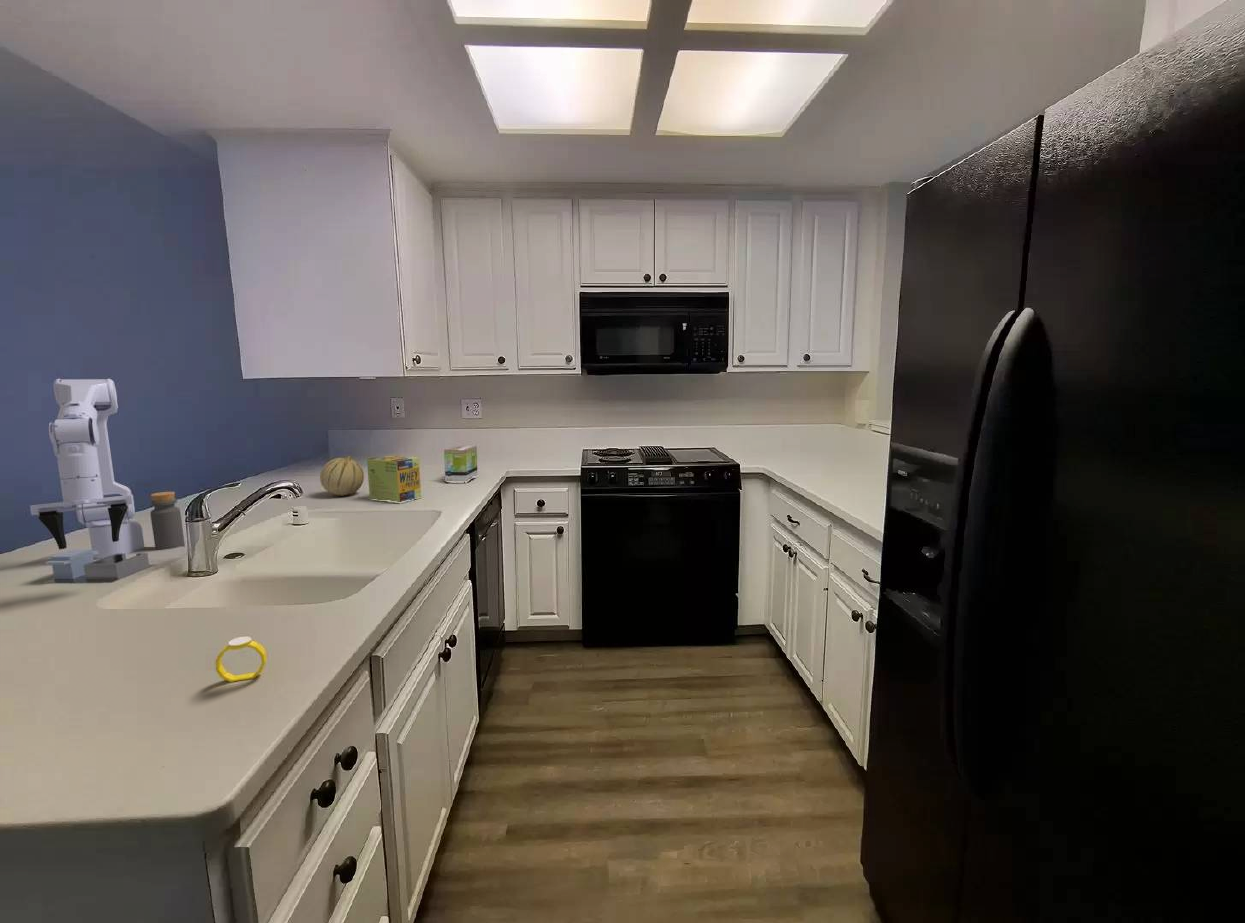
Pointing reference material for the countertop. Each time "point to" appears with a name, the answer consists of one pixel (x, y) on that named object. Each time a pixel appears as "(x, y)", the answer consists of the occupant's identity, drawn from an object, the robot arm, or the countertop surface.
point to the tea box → (460, 463)
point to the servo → (71, 563)
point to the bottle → (166, 521)
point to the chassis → (109, 569)
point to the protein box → (394, 478)
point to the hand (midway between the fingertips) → (89, 544)
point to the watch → (239, 644)
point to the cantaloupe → (342, 476)
